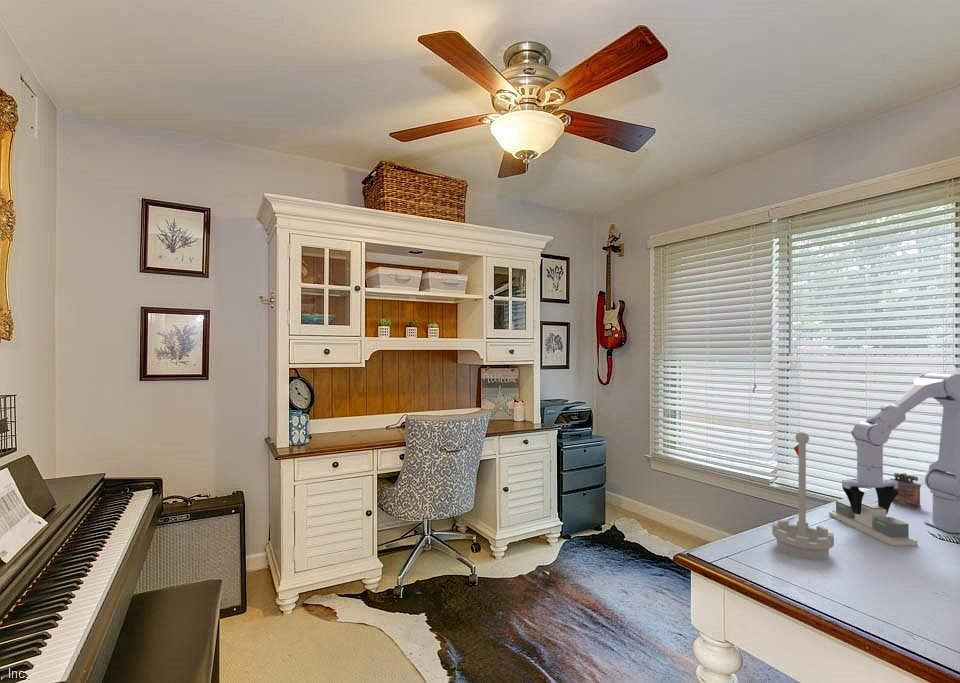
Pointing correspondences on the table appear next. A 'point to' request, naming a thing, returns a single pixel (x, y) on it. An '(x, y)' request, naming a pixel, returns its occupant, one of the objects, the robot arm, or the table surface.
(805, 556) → the flag stand
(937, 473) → the robot arm
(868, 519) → the module block
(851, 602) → the table surface
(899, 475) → the lighter
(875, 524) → the board
